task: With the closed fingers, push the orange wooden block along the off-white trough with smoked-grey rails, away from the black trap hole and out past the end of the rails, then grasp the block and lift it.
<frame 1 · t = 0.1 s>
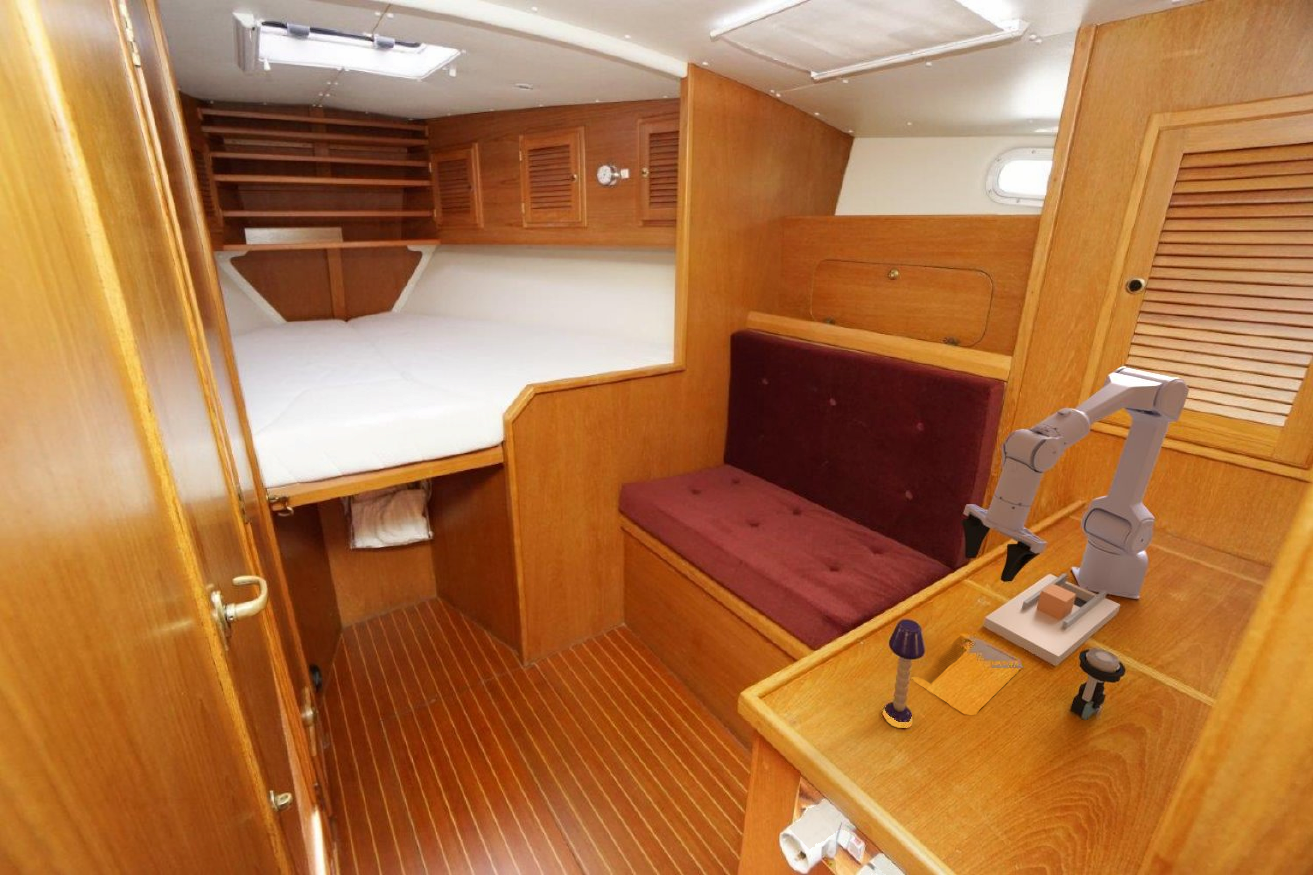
hand: (987, 568, 102), 11 cm above the table, tool pointing down, fingers open, 7 cm apart
toy lamp: (894, 717, 85), on the table
block: (1053, 610, 104), point 2 cm above the table, touching trough
trough: (1051, 619, 105), on the table
push button: (1088, 709, 86), on the table
grooming comb: (967, 674, 93), on the table
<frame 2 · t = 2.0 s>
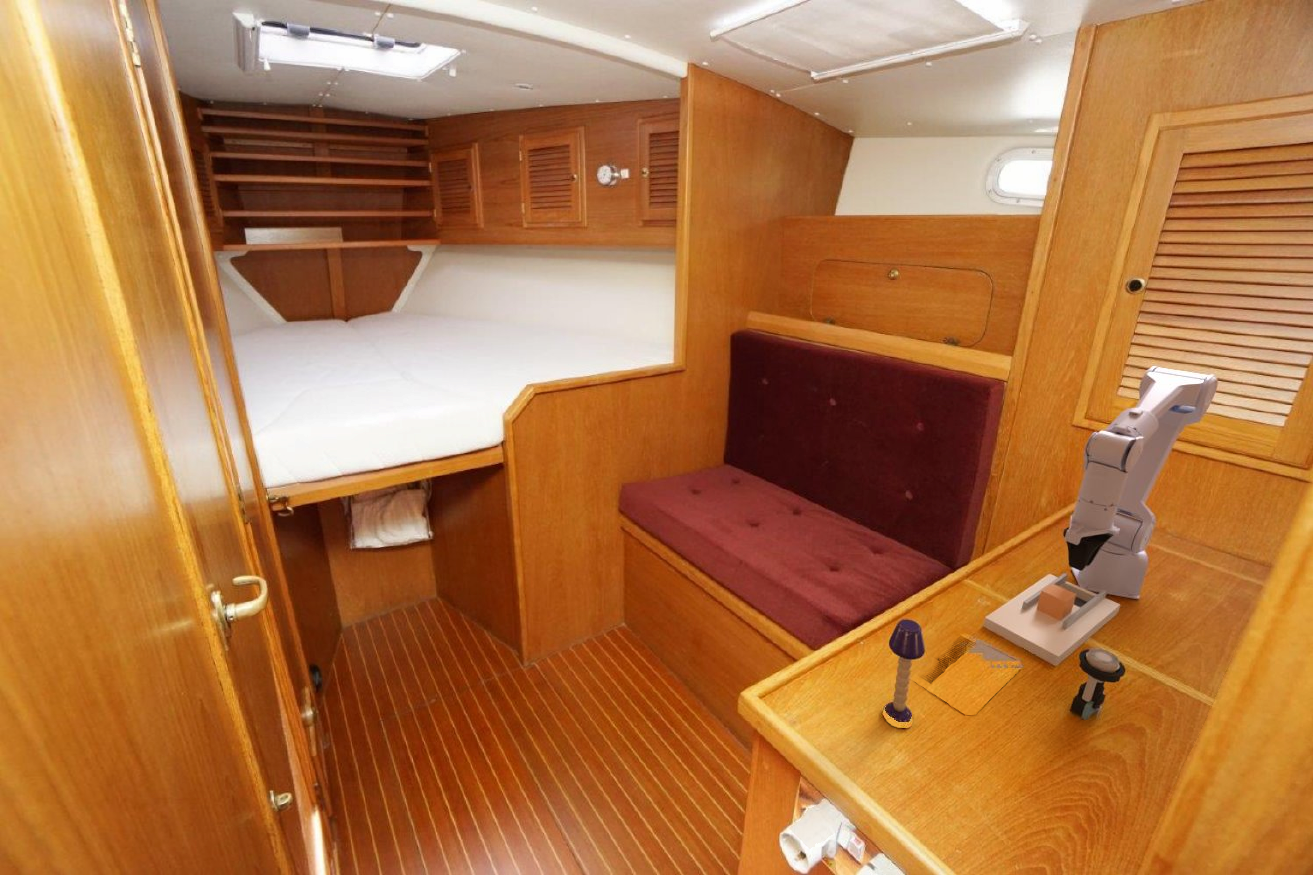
hand: (1079, 565, 104), 9 cm above the table, tool pointing down, fingers closed
nothing on the table moved.
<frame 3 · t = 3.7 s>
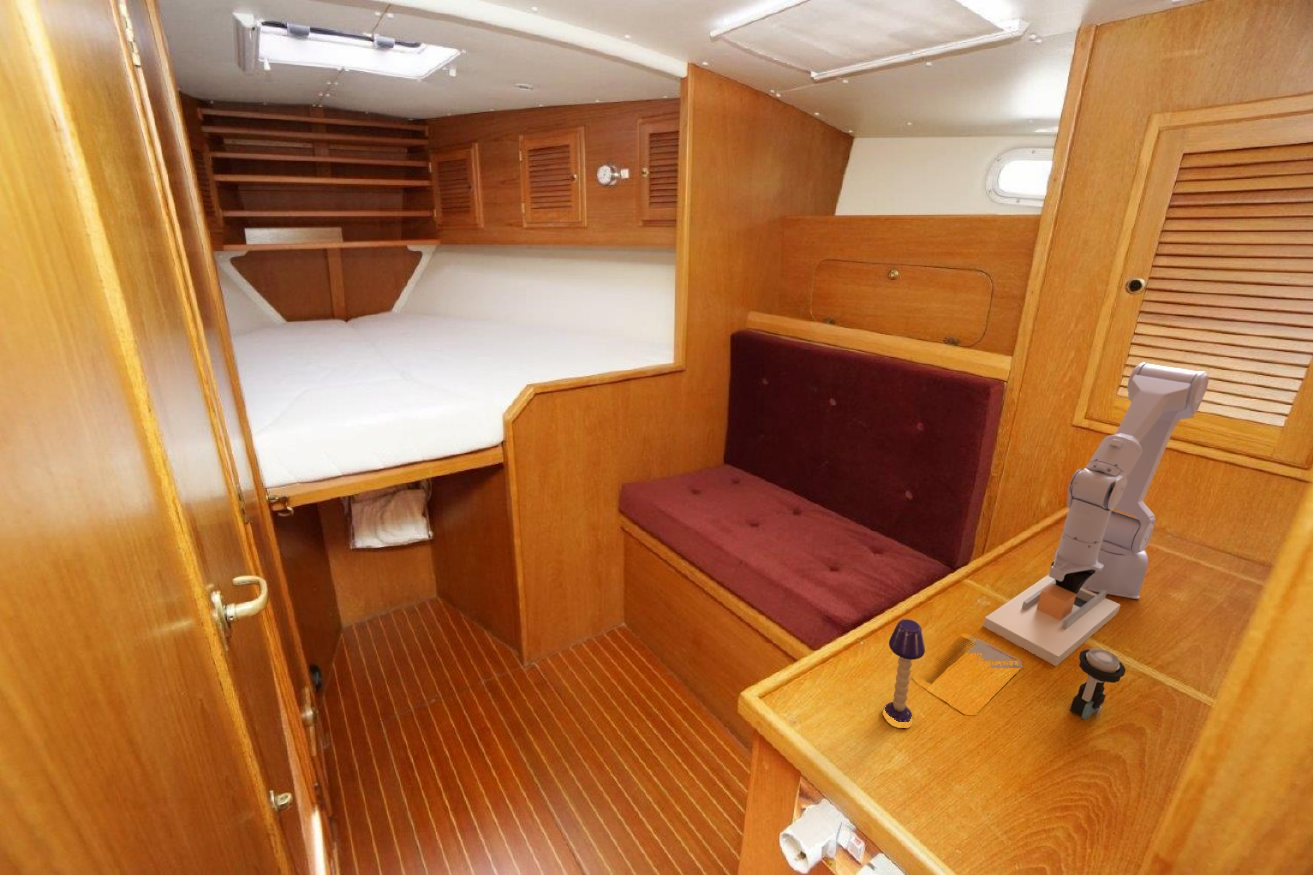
hand: (1064, 599, 105), 3 cm above the table, tool pointing down, fingers closed
block: (1053, 610, 104), point 2 cm above the table, touching gripper, trough
everything else where it was.
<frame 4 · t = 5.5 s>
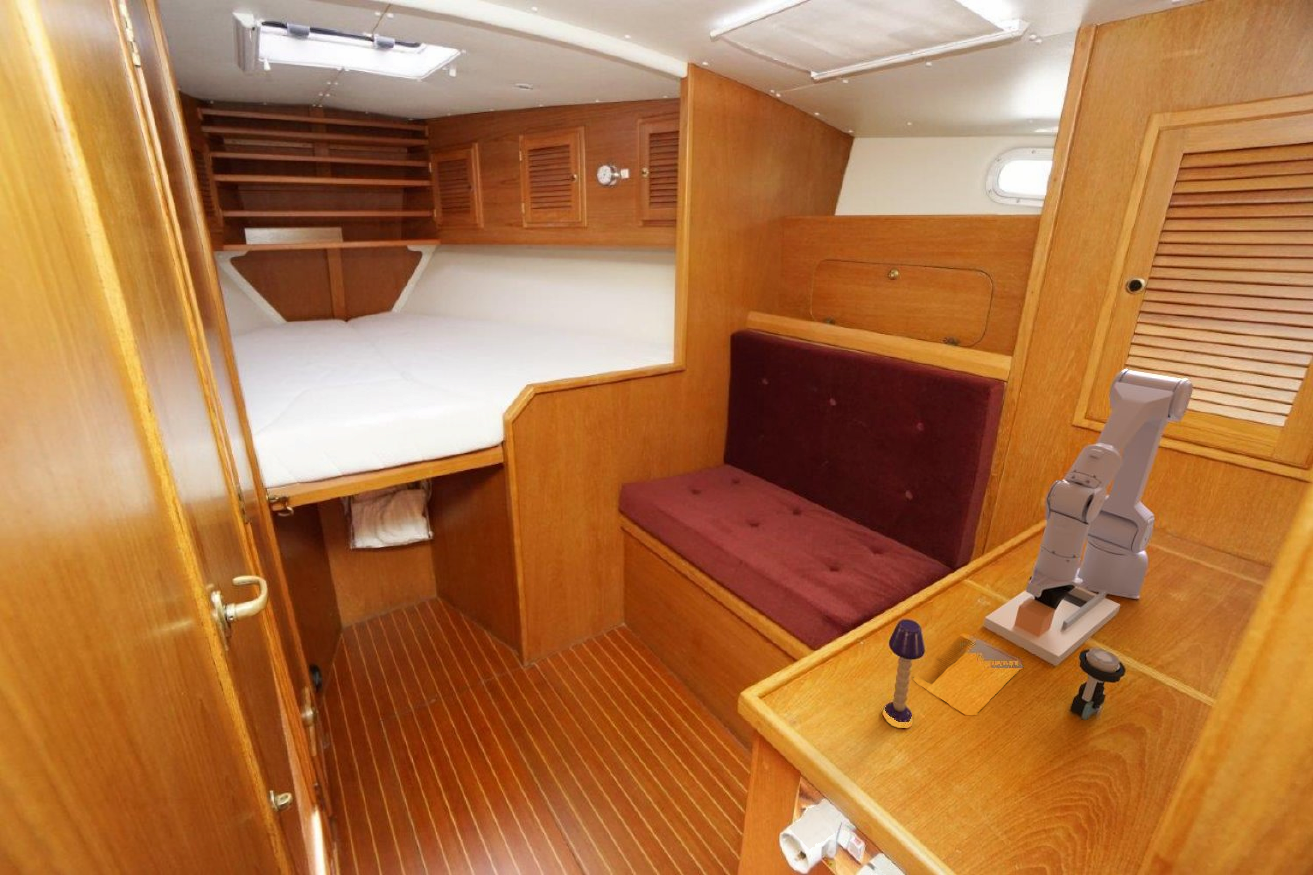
hand: (1043, 615, 101), 3 cm above the table, tool pointing down, fingers closed
block: (1032, 626, 100), point 2 cm above the table, touching gripper, trough
everything else where it was.
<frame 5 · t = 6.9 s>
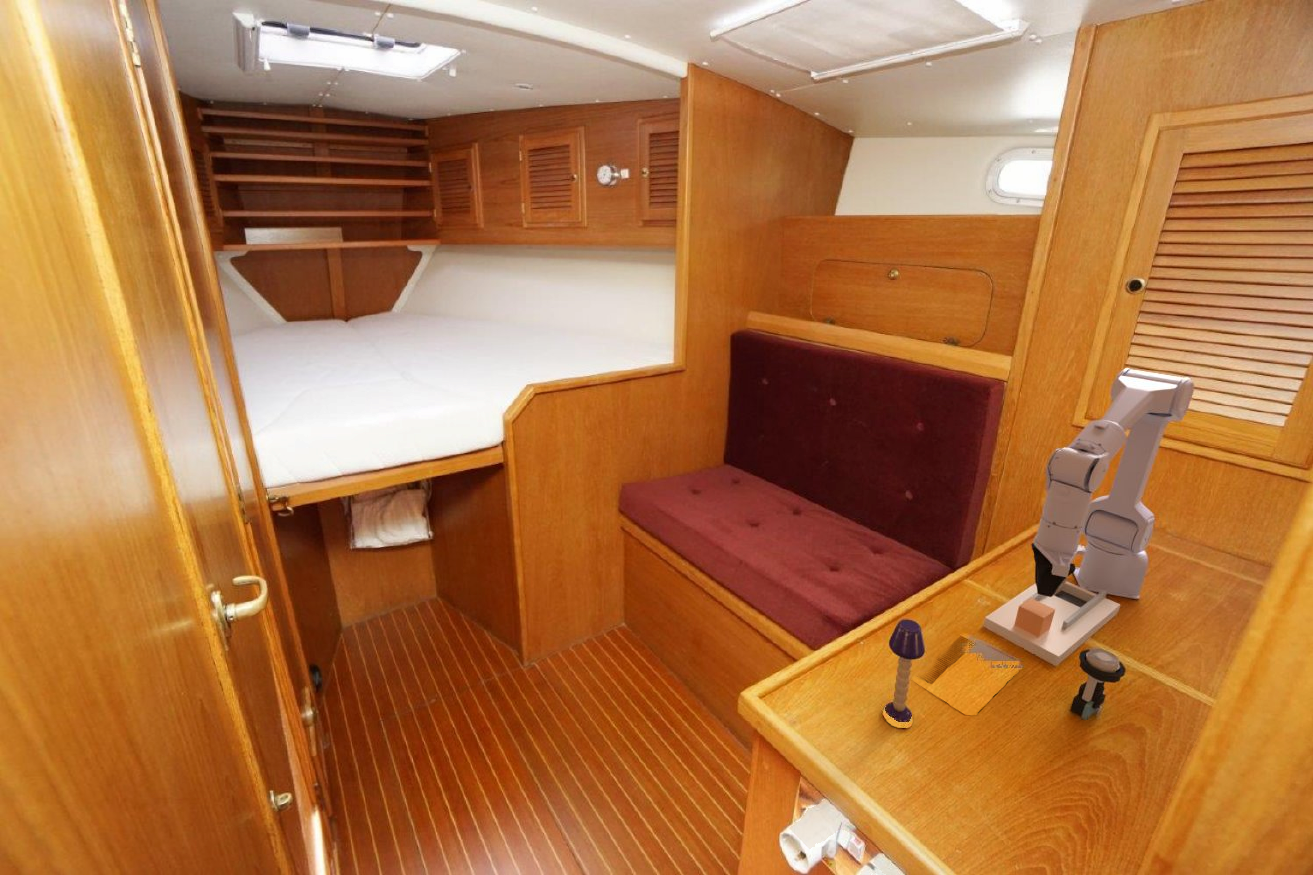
hand: (1043, 590, 97), 9 cm above the table, tool pointing down, fingers closed
block: (1032, 626, 100), point 2 cm above the table, touching trough
everything else where it was.
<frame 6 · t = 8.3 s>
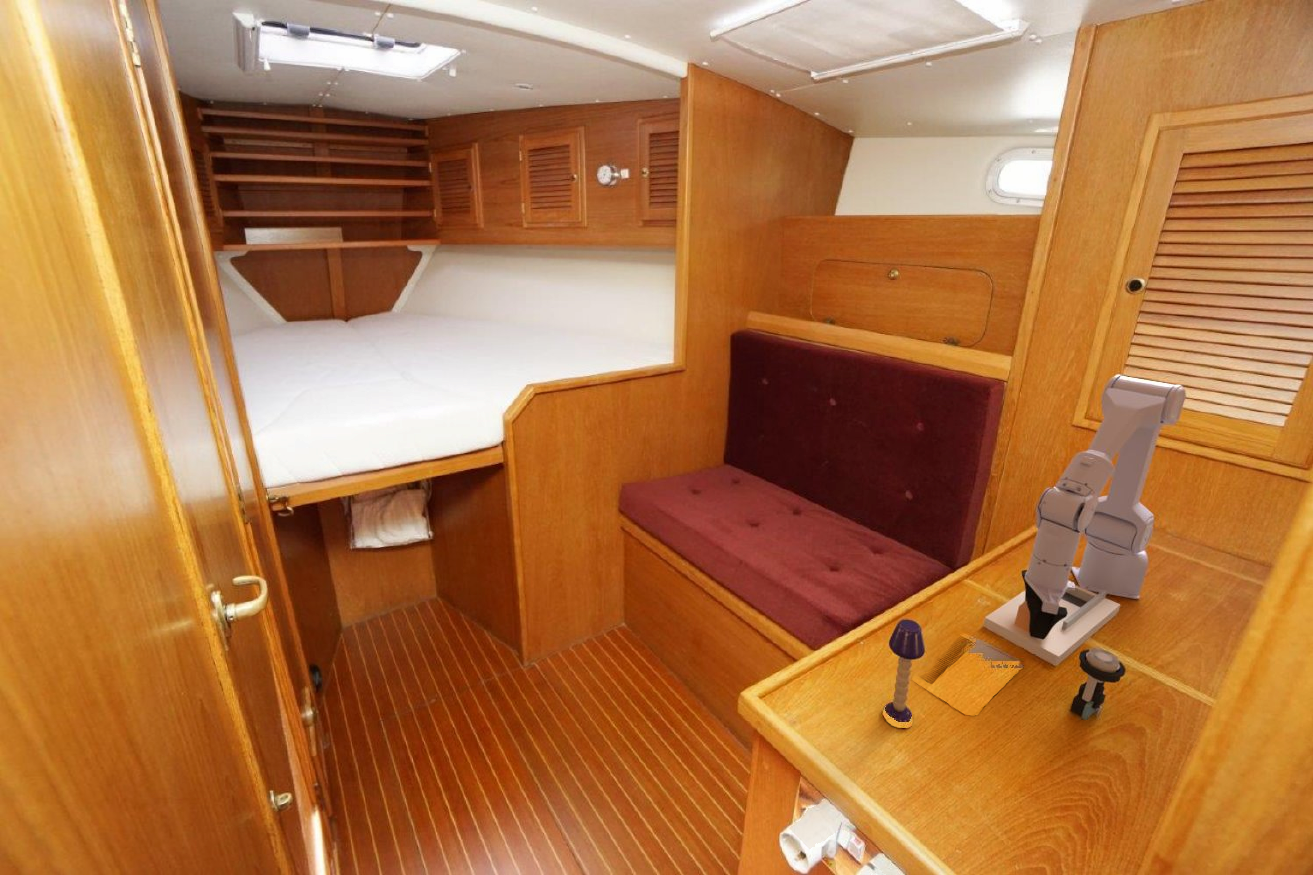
hand: (1034, 623, 100), 2 cm above the table, tool pointing down, fingers open, 7 cm apart
nothing on the table moved.
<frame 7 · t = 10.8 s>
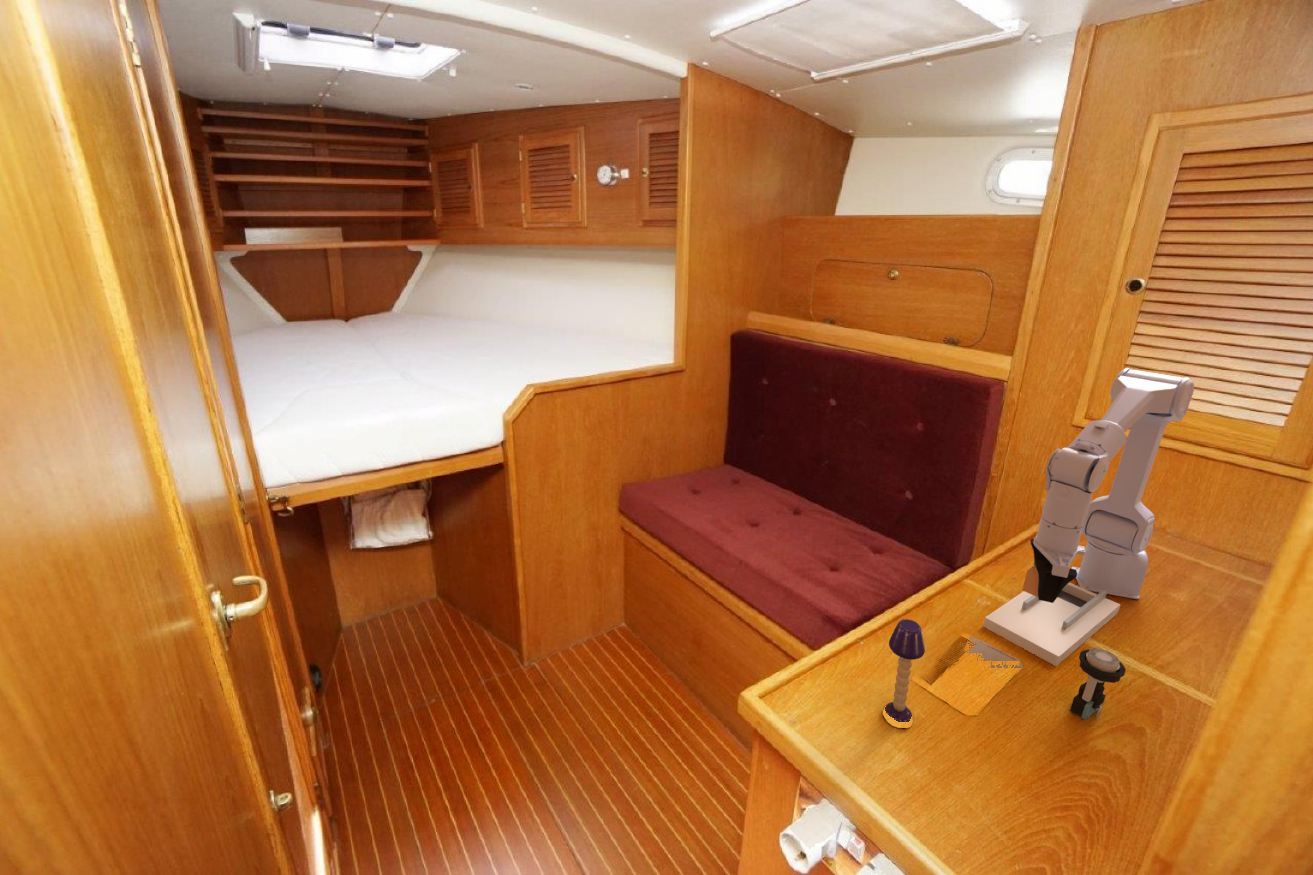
hand: (1043, 590, 98), 9 cm above the table, tool pointing down, fingers closed on block, 5 cm apart
block: (1040, 591, 98), point 9 cm above the table, touching gripper
everything else where it was.
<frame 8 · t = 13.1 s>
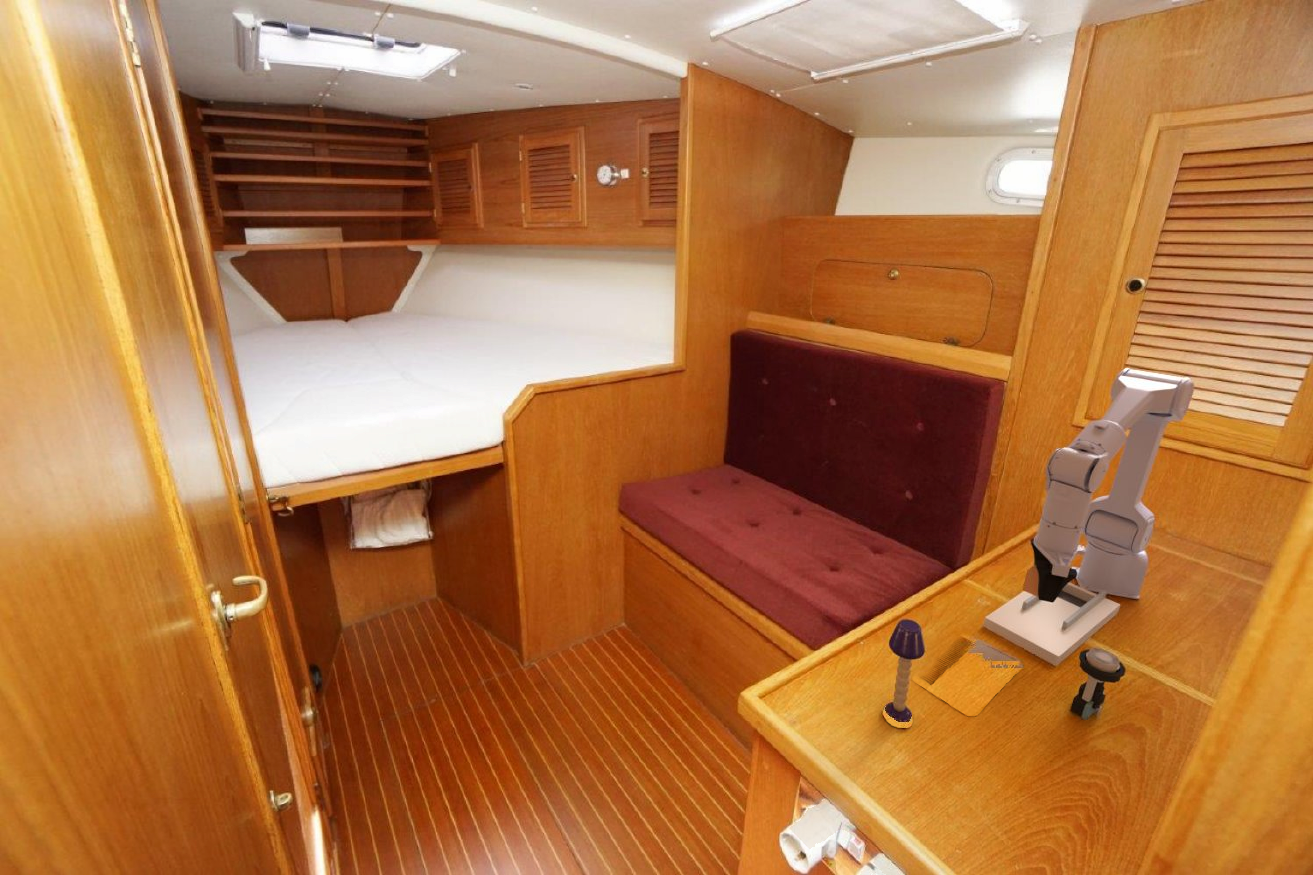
hand: (1043, 590, 97), 9 cm above the table, tool pointing down, fingers closed on block, 5 cm apart
block: (1040, 591, 98), point 9 cm above the table, touching gripper
everything else where it was.
at the end: block 0.1 cm from the target spot on the trough, point 9.0 cm above the trough's base; the gripper is holding block; block touching gripper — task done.
